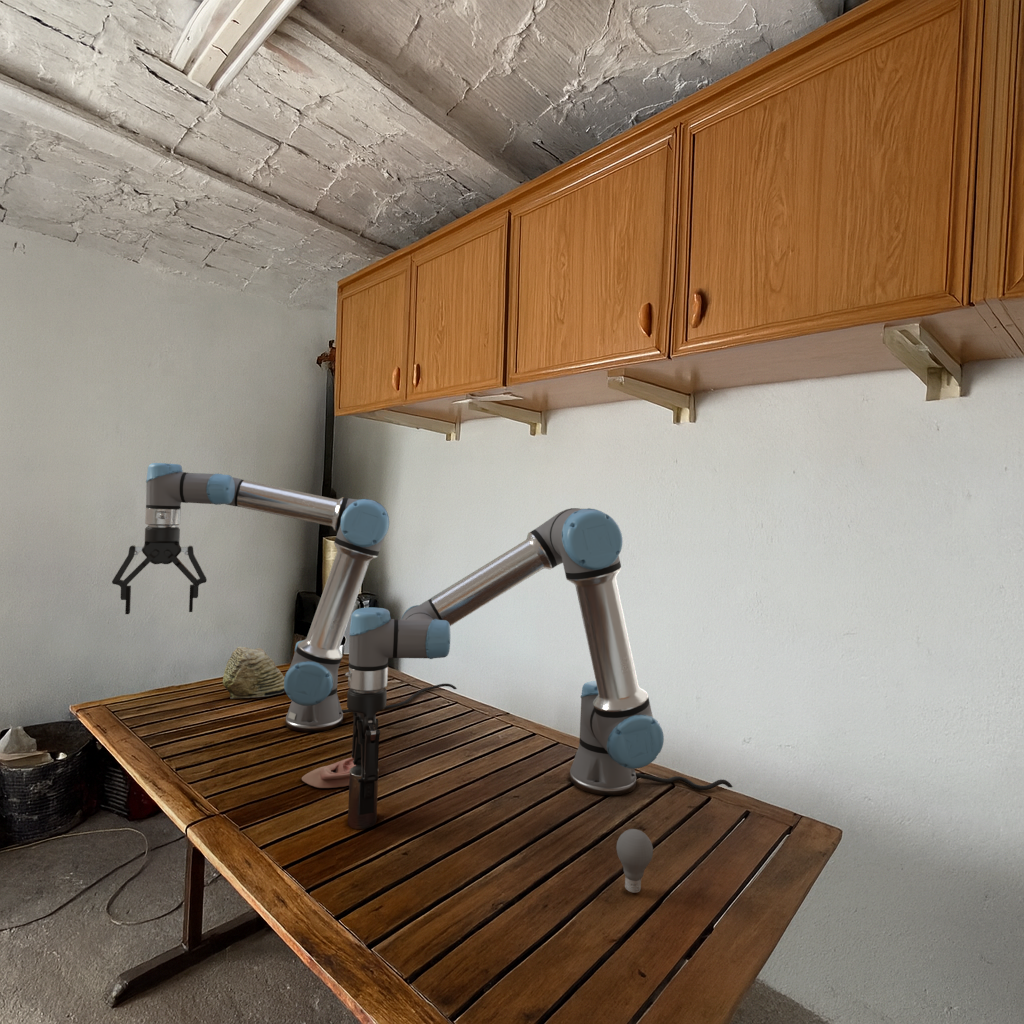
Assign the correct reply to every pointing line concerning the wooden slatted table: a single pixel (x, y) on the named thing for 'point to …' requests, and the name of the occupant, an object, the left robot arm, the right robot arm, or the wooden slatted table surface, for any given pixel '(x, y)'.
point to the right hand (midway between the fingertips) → (362, 805)
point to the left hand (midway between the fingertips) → (159, 612)
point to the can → (353, 805)
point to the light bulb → (634, 857)
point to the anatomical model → (330, 775)
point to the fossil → (252, 674)
